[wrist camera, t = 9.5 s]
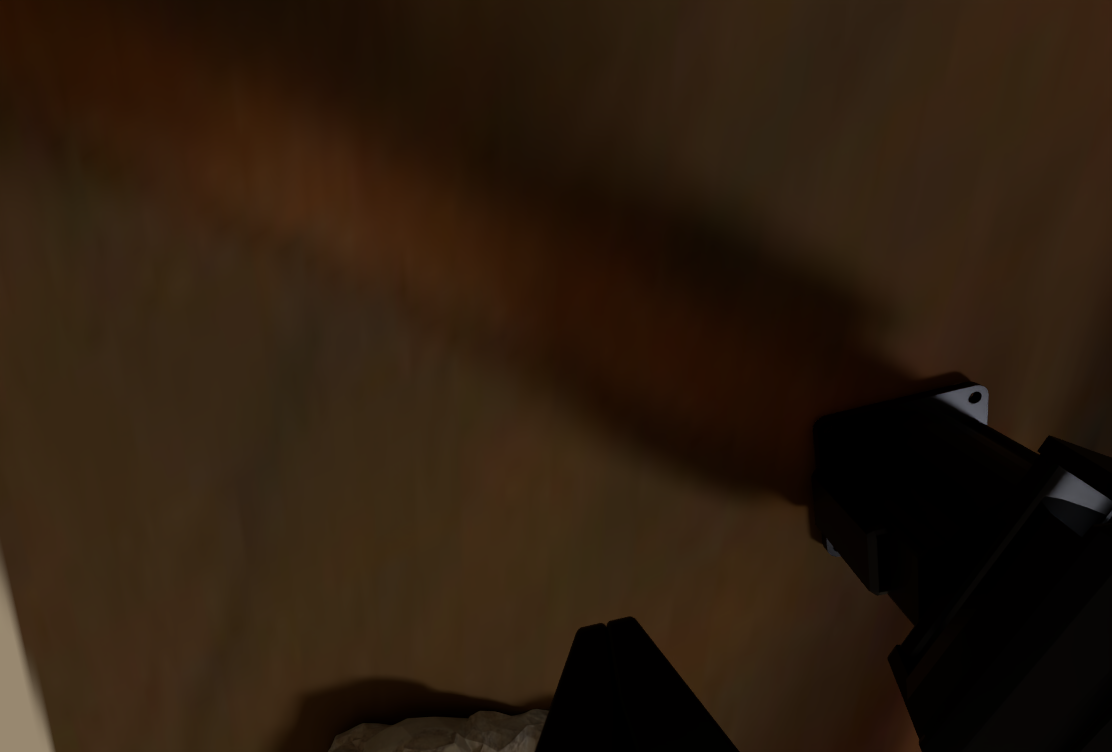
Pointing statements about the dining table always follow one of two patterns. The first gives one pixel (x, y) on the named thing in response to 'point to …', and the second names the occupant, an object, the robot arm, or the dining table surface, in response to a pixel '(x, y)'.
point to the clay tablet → (447, 734)
